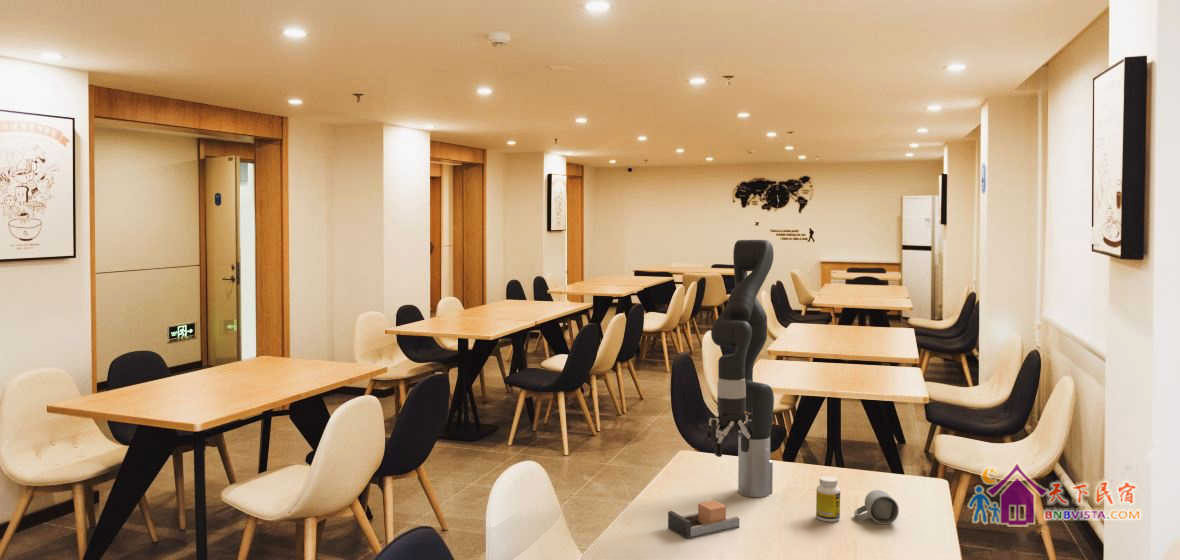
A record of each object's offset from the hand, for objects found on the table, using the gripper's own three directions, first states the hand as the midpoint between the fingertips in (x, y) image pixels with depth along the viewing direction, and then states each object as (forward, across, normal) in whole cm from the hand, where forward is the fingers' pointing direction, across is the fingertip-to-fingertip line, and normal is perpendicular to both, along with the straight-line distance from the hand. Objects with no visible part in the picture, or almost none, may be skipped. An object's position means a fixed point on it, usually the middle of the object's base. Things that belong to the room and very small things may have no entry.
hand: (731, 453), depth 213 cm
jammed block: (+18, +7, +1) cm, 20 cm away
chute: (+18, +9, +1) cm, 21 cm away
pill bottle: (+19, -24, +11) cm, 32 cm away
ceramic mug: (+19, -35, +17) cm, 43 cm away
